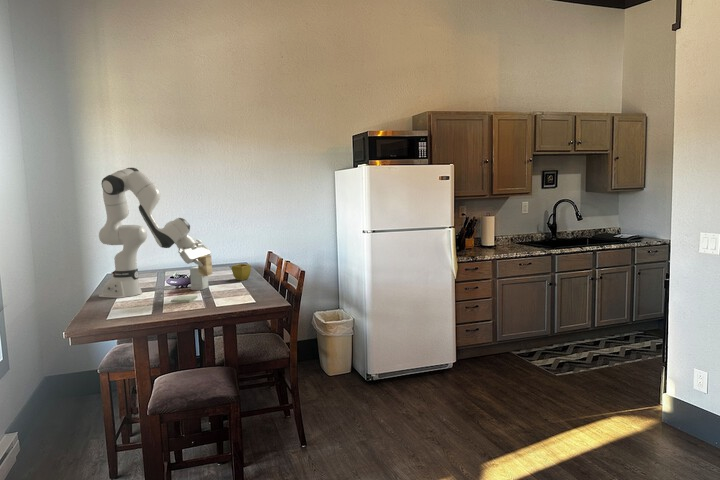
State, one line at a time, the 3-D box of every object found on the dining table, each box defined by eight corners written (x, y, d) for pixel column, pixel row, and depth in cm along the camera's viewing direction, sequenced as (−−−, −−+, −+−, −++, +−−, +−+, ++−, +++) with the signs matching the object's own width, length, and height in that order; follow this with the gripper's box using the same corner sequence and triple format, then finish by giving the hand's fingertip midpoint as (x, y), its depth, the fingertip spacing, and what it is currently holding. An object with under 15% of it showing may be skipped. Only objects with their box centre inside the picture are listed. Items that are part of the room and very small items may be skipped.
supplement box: (202, 290, 308) (201, 268, 307) (190, 289, 310) (189, 268, 308) (208, 287, 315) (207, 265, 314) (197, 287, 317) (195, 266, 315)
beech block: (199, 275, 286) (197, 257, 285) (204, 273, 291) (202, 255, 290) (207, 275, 285) (205, 257, 284) (212, 273, 290) (211, 255, 288)
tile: (171, 302, 280) (170, 300, 280) (179, 297, 289) (179, 295, 289) (189, 301, 278) (189, 300, 278) (197, 297, 288) (197, 295, 288)
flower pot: (252, 278, 337) (251, 264, 336) (242, 281, 330) (241, 266, 329) (242, 277, 342) (241, 263, 341) (231, 280, 335) (230, 266, 334)
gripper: (179, 245, 278) (198, 264, 276) (202, 239, 297) (219, 257, 296) (173, 253, 280) (191, 272, 278) (195, 247, 299) (212, 265, 298)
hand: (205, 264), depth 287 cm, fingers closed on beech block, 5 cm apart
